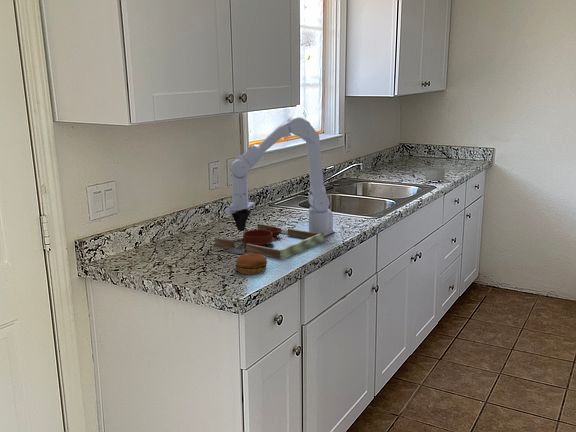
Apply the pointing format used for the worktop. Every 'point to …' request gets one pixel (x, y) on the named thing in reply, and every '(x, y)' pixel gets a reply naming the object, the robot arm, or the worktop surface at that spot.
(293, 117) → the robot arm
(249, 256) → the burger
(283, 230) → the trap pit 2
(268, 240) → the pottery
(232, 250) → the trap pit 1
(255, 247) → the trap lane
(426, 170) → the teacup
